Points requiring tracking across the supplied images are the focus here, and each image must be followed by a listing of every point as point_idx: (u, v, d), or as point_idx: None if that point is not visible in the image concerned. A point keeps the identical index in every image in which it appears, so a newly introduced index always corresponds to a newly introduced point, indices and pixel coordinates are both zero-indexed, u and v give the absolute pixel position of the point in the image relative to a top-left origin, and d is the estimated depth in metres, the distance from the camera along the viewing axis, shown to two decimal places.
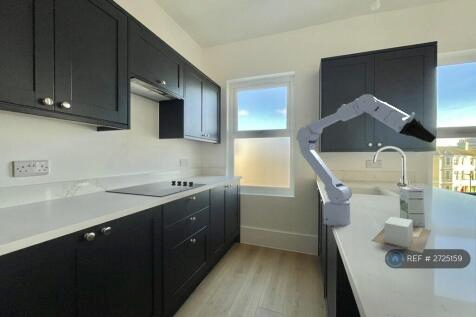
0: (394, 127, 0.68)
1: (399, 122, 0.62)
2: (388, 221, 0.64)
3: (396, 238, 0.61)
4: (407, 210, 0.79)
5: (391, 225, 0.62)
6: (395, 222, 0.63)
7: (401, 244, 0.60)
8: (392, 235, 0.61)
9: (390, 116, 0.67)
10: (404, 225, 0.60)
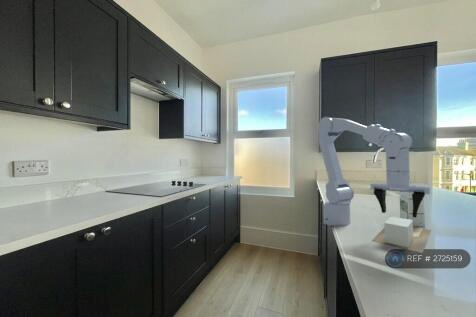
0: None
1: None
2: (388, 221, 0.64)
3: (396, 238, 0.61)
4: (407, 210, 0.79)
5: (391, 225, 0.62)
6: (395, 222, 0.63)
7: (401, 244, 0.60)
8: (392, 235, 0.61)
9: None
10: (404, 225, 0.60)
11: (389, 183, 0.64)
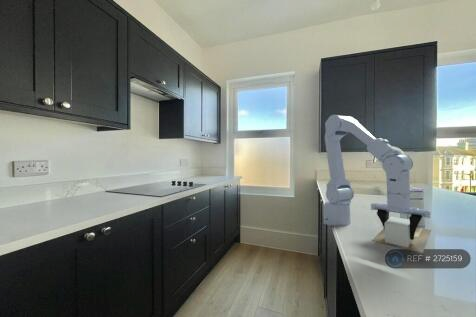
0: None
1: None
2: (388, 221, 0.64)
3: (396, 238, 0.61)
4: None
5: (391, 225, 0.62)
6: (395, 222, 0.63)
7: (401, 244, 0.60)
8: (392, 235, 0.61)
9: None
10: (404, 225, 0.60)
11: (390, 205, 0.64)
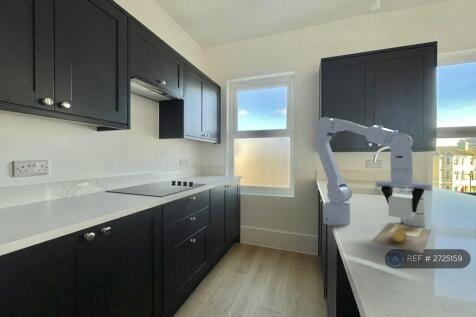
0: None
1: None
2: (392, 196, 0.68)
3: (399, 211, 0.65)
4: None
5: (394, 199, 0.66)
6: (399, 197, 0.66)
7: (404, 216, 0.64)
8: (395, 208, 0.65)
9: None
10: (406, 199, 0.64)
11: (393, 181, 0.68)
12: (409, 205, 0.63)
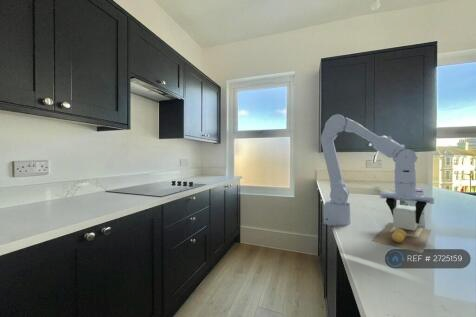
0: None
1: None
2: (396, 208, 0.72)
3: (403, 222, 0.69)
4: None
5: (399, 211, 0.70)
6: (403, 209, 0.70)
7: (408, 228, 0.68)
8: (400, 220, 0.69)
9: (395, 184, 0.74)
10: (410, 211, 0.68)
11: (397, 193, 0.72)
12: (413, 217, 0.67)
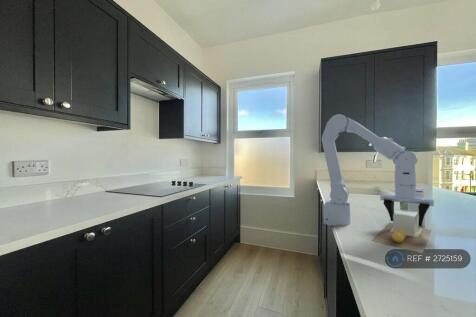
0: None
1: None
2: (396, 213, 0.72)
3: (404, 227, 0.69)
4: (407, 210, 0.79)
5: (399, 216, 0.70)
6: (403, 214, 0.71)
7: (408, 233, 0.68)
8: (400, 225, 0.69)
9: (395, 186, 0.74)
10: (410, 216, 0.68)
11: (397, 195, 0.72)
12: (413, 222, 0.67)
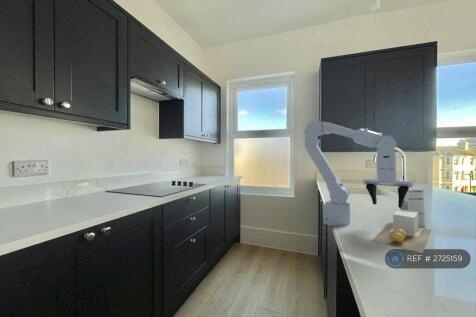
0: None
1: None
2: (396, 213, 0.72)
3: (404, 227, 0.69)
4: (407, 210, 0.79)
5: (399, 216, 0.70)
6: (403, 214, 0.71)
7: (408, 233, 0.68)
8: (400, 225, 0.69)
9: None
10: (410, 216, 0.68)
11: (379, 179, 0.74)
12: (413, 222, 0.67)
